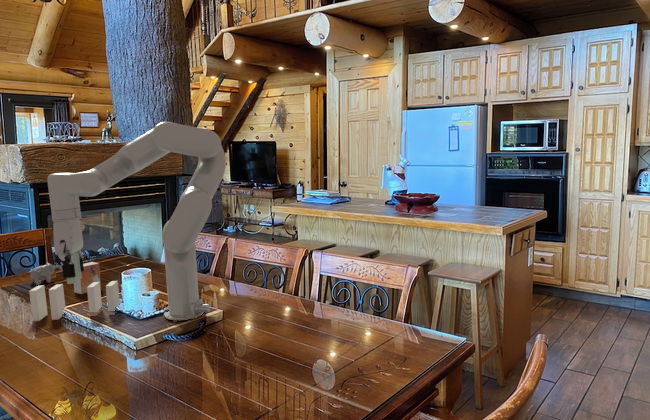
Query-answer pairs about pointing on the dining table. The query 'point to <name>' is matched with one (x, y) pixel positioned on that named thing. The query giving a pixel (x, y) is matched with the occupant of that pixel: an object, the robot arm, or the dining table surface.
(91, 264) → the small box
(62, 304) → the domino
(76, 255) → the domino
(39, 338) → the dining table surface
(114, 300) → the domino
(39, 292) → the domino
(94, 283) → the domino
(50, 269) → the elephant statuette
